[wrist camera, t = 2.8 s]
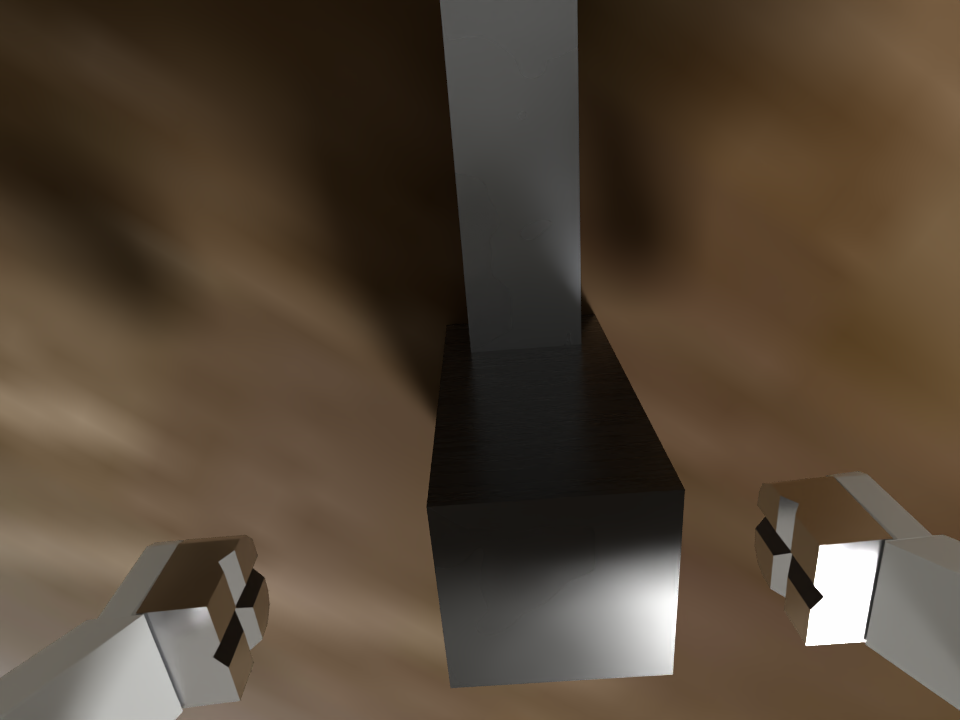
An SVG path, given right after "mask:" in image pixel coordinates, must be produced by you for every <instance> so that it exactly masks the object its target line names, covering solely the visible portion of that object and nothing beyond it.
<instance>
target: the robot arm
mask: <svg viewBox="0 0 960 720" xmlns="http://www.w3.org/2000/svg"><path fill="white" fill-rule="evenodd" d="M758 507H759V508H760V509H761V511H762V512H763V514H764V515H765V518H764V519H763V520H762V521H761V523H760V524H759V525H758V526H757V527H756V528H755V551H756V556H757V562H758V565H759V568H760V570H761V573H762V575H763V577H764V579H765V580H766V582H767V584H768V585H769V587H770V589H772V590H774V591H775V592H777V593H779V594H781V595H782V596H784V597H785V606H784V611H785V613H786V615H787V616H788V618H789V619H790V621H791V622H792V624H793V626H794V627H795V629H796V630H797V632H798V634H799V635H800V637H801V638H802V640H803V641H804V643H805V645H821V644H835V643H849V642H864V641H866V643H865V644H866V645H867V646H869V647H870V648H871V649H873V650H874V651H876V652H877V653H879V654H880V655H881V656H883V657H884V658H886V659H887V660H889V661H890V662H891V663H893V664H894V665H896V666H897V667H899V668H900V669H901V670H903V671H904V672H906V673H907V674H909V675H910V676H911V677H913V678H914V679H916V680H917V681H919V682H920V683H921V684H923V685H924V686H926V687H927V688H929V689H930V690H931V691H933V692H934V693H936V694H937V695H939V696H940V697H941V698H943V699H944V700H946V701H947V702H949V703H950V704H951V705H953V706H954V707H956V708H957V709H959V710H960V541H958V540H955V539H953V538H950V537H948V536H945V535H935V536H933V535H932V534H931V533H929V532H928V531H927V530H926V529H925V528H924V527H923V526H922V525H921V524H920V523H919V522H918V521H917V520H916V519H915V518H913V517H912V516H911V515H910V514H909V513H908V512H907V511H906V510H905V509H904V508H903V507H902V506H901V505H900V504H899V503H897V502H896V501H895V500H894V499H893V498H892V497H891V496H890V495H889V494H888V493H887V492H886V491H885V490H884V489H883V488H881V487H880V486H879V485H878V484H877V483H876V482H875V481H874V480H873V479H872V478H871V477H870V476H869V475H867V474H865V473H862V472H859V471H858V472H850V473H842V474H835V475H827V476H826V477H819V478H809V479H800V480H790V481H781V482H772V483H763V484H762V486H761V488H760V491H759V497H758ZM257 556H258V554H257V551H256V548H255V546H254V543H253V540H252V538H250V537H248V536H247V535H239V536H226V537H213V538H201V539H188V540H185V541H183V540H178V541H167V542H157V543H154V544H151V545H149V546H147V547H146V549H145V550H144V551H143V553H142V554H141V556H140V557H139V559H138V560H137V562H136V563H135V565H134V566H133V567H132V569H131V570H130V572H129V573H128V575H127V576H126V578H125V579H124V581H123V582H122V583H121V585H120V586H119V588H118V589H117V591H116V592H115V594H114V595H113V597H112V598H111V599H110V601H109V602H108V604H107V605H106V607H105V608H104V610H103V611H102V613H101V614H100V615H99V617H98V618H97V619H92V620H86V621H85V622H83V623H82V624H80V625H79V626H77V627H76V628H74V629H73V630H71V631H70V632H68V633H67V634H65V635H64V636H62V637H61V638H59V639H58V640H56V641H55V642H53V643H52V644H50V645H49V646H47V647H46V648H44V649H43V650H41V651H40V652H38V653H37V654H35V655H34V656H32V657H31V658H29V659H28V660H26V661H25V662H23V663H22V664H20V665H19V666H17V667H16V668H14V669H13V670H11V671H10V672H8V673H7V674H5V675H4V676H2V677H1V678H0V720H175V719H176V718H177V717H178V716H179V715H180V714H181V713H182V712H183V710H182V708H188V707H196V706H203V705H211V704H219V703H227V702H235V701H240V700H241V697H242V694H243V692H244V689H245V686H246V683H247V681H248V678H249V675H250V672H251V670H252V667H253V664H254V661H253V658H252V655H251V652H250V650H251V649H252V648H253V647H254V646H255V645H256V644H257V643H258V642H259V641H261V640H262V639H263V636H264V633H265V630H266V627H267V624H268V615H269V605H270V604H269V594H268V588H267V584H266V581H265V577H263V576H262V575H261V574H259V573H258V572H257V571H256V570H254V569H253V566H254V564H255V561H256V559H257Z"/></svg>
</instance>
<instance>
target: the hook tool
mask: <svg viewBox="0 0 960 720" xmlns="http://www.w3.org/2000/svg"><path fill="white" fill-rule="evenodd" d="M440 7H441V18H442V30H443V41H444V52H445V64H446V75H447V86H448V98H449V109H450V120H451V132H452V143H453V154H454V166H455V177H456V188H457V200H458V211H459V222H460V234H461V245H462V256H463V268H464V279H465V290H466V302H467V313H468V324H456V325H447V328H446V337H445V346H444V355H443V364H442V373H441V382H440V391H439V400H438V409H437V418H436V427H435V436H434V445H433V454H432V463H431V472H430V481H429V490H428V499H427V514H428V521H429V529H430V536H431V544H432V551H433V559H434V566H435V574H436V581H437V589H438V596H439V604H440V612H441V619H442V627H443V634H444V642H445V649H446V657H447V664H448V672H449V679H450V687H451V688H458V687H475V686H491V685H508V684H524V683H541V682H557V681H573V680H590V679H606V678H623V677H639V676H656V675H672V674H673V661H674V646H675V631H676V616H677V601H678V586H679V570H680V555H681V540H682V525H683V510H684V494H685V489H684V487H683V485H682V483H681V481H680V479H679V477H678V475H677V473H676V471H675V469H674V467H673V466H672V464H671V462H670V460H669V458H668V456H667V454H666V452H665V450H664V448H663V446H662V444H661V442H660V440H659V438H658V436H657V434H656V433H655V431H654V429H653V427H652V425H651V423H650V421H649V419H648V417H647V415H646V413H645V411H644V409H643V407H642V405H641V403H640V401H639V399H638V398H637V396H636V394H635V392H634V390H633V388H632V386H631V384H630V382H629V380H628V378H627V376H626V374H625V372H624V370H623V368H622V366H621V364H620V363H619V361H618V359H617V357H616V355H615V353H614V351H613V349H612V347H611V345H610V343H609V341H608V339H607V337H606V335H605V333H604V331H603V329H602V328H601V326H600V324H599V322H598V320H597V318H596V316H595V314H592V315H581V270H580V186H579V101H578V17H577V0H440Z"/></svg>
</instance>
